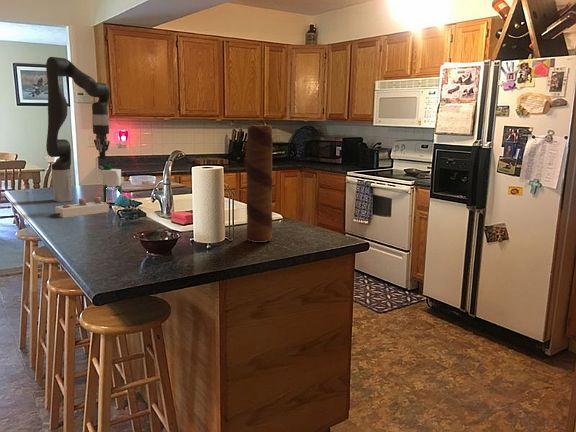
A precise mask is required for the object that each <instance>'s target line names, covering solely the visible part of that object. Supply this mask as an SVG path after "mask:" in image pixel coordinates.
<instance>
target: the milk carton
mask: <svg viewBox="0 0 576 432" xmlns="http://www.w3.org/2000/svg"><path fill="white" fill-rule="evenodd" d="M101 175H102V188H103V189H102V191H103V202H106V188H107V187H108V186H113V187H116V188H117V189H118V191H119V192H120V194H121V195H122V196H123V193H122V192H123V190H122V189H123V188H122V187H123V186H122V169H120V168H119V169H118V168H112V165H107V164H105V165H103V168H102V170H101Z"/></svg>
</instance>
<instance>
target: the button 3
mask: <svg viewBox="0 0 576 432" xmlns="http://www.w3.org/2000/svg"><path fill="white" fill-rule="evenodd" d="M93 200H94V201H93V202H94V203H101V202H102V198H101V197H100V196H94V197H93Z"/></svg>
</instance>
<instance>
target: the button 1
mask: <svg viewBox="0 0 576 432" xmlns="http://www.w3.org/2000/svg"><path fill="white" fill-rule="evenodd" d="M70 205H71V204H67V203H66V204H65V203H64V204H63V205H62V206H63V208H69V207H70Z"/></svg>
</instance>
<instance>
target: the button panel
mask: <svg viewBox="0 0 576 432" xmlns="http://www.w3.org/2000/svg"><path fill="white" fill-rule="evenodd" d="M54 210H55V212H54V213H50V214H49V216H50V217H60V218H72V217H73V218H74V217H81V216H86V215H87V216H88V215H93V214H94V215H96V214H103V213H108V212H109V213H110V204H107V203H106V202H104V201H101V203H94V201H93V202H86V204H85V205H79V203H74V204H70V207H69V208H63V205H58V206H57V205H55V208H54Z"/></svg>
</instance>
